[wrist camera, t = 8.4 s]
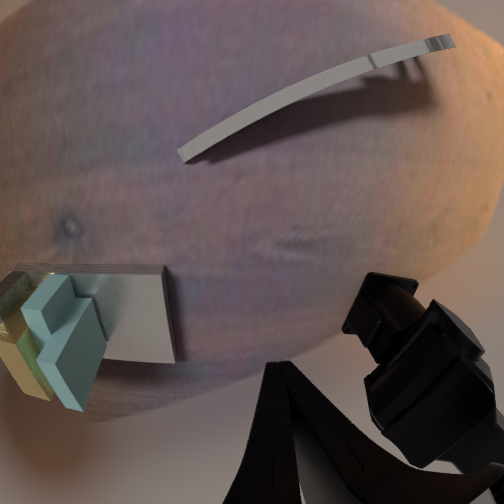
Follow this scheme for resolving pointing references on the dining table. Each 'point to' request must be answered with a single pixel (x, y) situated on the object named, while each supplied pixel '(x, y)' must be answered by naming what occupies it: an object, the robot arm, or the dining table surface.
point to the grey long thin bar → (311, 90)
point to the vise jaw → (65, 339)
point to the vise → (110, 304)
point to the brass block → (23, 353)
